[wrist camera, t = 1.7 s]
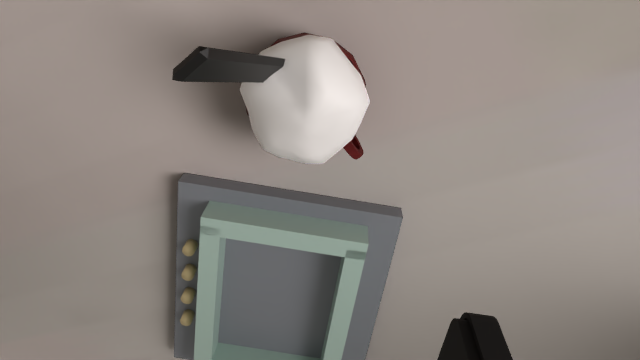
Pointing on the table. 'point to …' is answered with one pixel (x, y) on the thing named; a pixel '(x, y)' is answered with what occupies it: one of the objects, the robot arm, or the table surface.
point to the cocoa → (292, 94)
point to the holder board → (277, 272)
